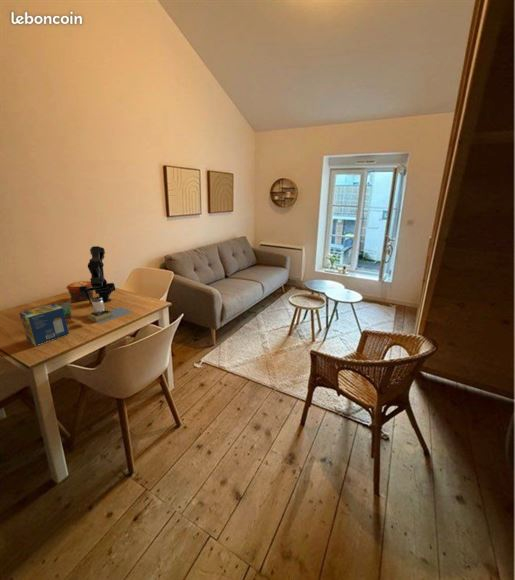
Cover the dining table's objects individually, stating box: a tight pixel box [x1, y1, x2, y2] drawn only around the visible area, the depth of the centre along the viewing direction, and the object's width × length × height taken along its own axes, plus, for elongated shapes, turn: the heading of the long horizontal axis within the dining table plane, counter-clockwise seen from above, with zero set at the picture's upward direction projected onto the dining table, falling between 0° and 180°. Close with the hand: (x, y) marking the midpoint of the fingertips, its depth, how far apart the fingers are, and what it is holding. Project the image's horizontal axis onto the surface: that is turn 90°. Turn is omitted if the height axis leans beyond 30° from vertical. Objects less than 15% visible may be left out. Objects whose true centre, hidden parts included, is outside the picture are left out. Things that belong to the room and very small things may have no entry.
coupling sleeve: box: [90, 296, 106, 316], centre depth 165 cm, size 6×6×12 cm
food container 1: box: [54, 300, 72, 320], centre depth 167 cm, size 12×6×10 cm, turn 143°
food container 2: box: [65, 280, 94, 302], centre depth 201 cm, size 16×16×11 cm
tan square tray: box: [87, 308, 113, 323], centre depth 167 cm, size 10×10×3 cm
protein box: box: [18, 303, 70, 346], centre depth 144 cm, size 10×15×16 cm
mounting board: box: [86, 306, 134, 325], centre depth 171 cm, size 14×21×1 cm, turn 146°
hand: (98, 301), depth 169 cm, fingers open, 9 cm apart
